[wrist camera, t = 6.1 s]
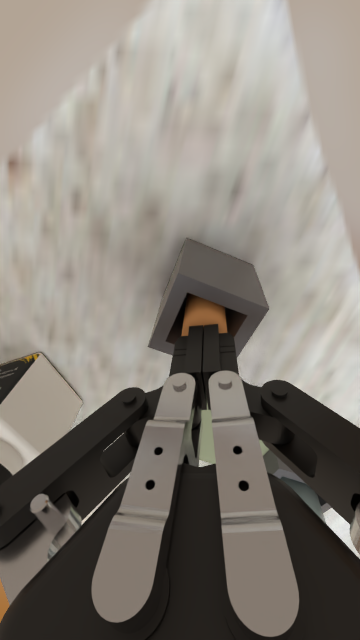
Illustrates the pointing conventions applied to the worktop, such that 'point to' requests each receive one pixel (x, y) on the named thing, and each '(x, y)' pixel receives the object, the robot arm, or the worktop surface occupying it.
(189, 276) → the gray square socket block
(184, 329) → the plunger
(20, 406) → the medicine bottle
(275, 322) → the worktop surface
